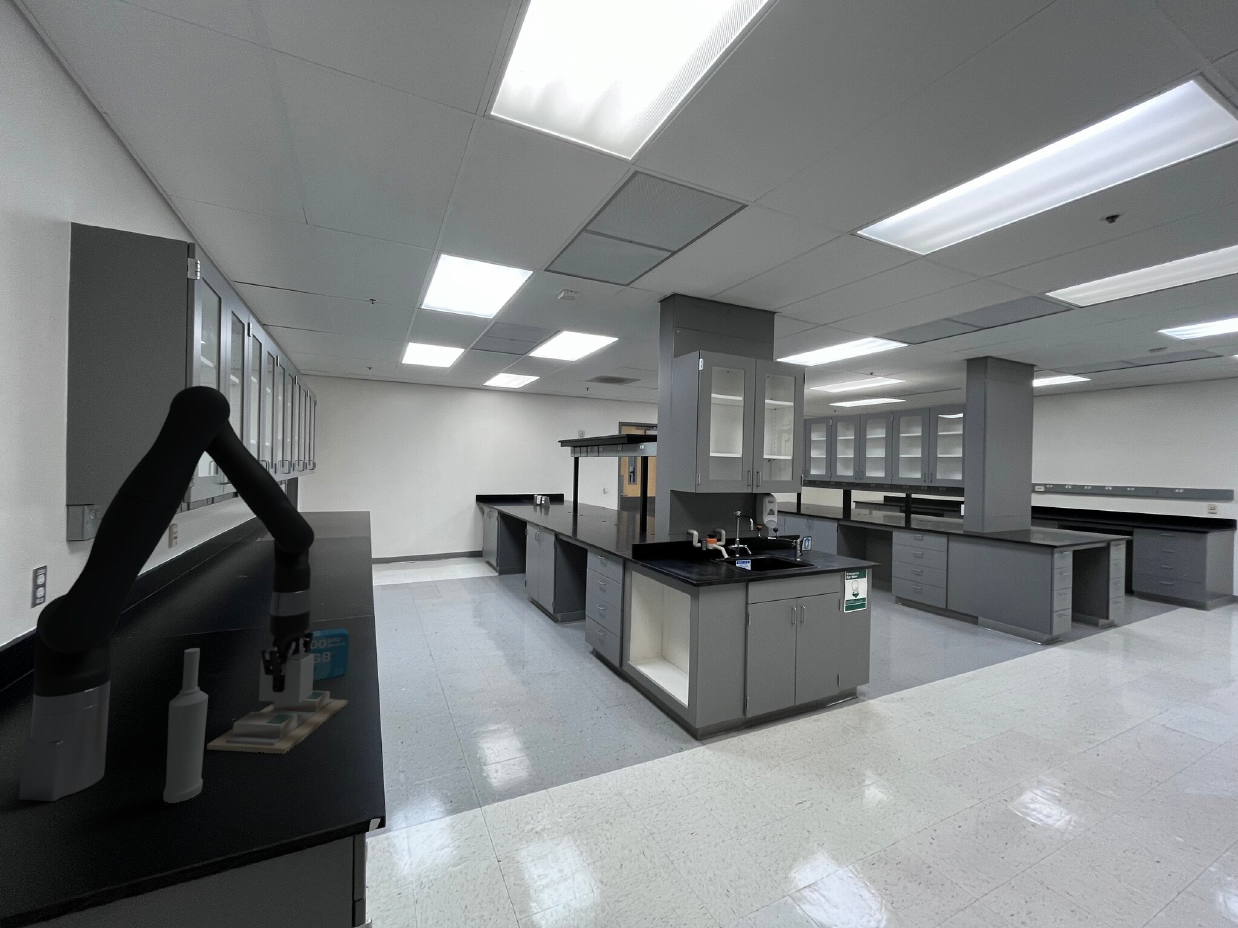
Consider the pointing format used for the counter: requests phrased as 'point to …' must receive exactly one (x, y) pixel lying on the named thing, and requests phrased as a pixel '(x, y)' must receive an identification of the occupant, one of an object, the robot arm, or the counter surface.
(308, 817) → the counter surface
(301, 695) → the block
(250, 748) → the rail board
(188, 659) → the bottle
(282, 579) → the robot arm
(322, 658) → the data package
